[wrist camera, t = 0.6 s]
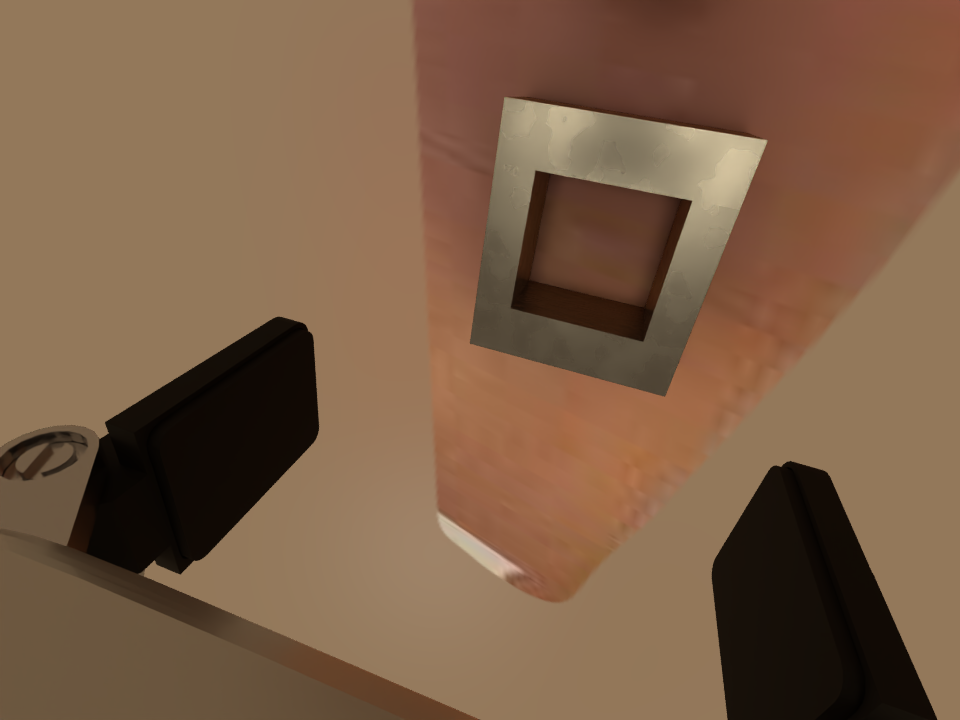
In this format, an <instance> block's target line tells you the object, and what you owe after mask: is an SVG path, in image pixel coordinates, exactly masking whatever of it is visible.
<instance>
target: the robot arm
mask: <svg viewBox="0 0 960 720" xmlns="http://www.w3.org/2000/svg"><path fill="white" fill-rule="evenodd" d="M105 424H106V427H107V429H108V432H109V434H107V435H106V436H104V437H102V438H101V439H99V437H98V436H97V435H96V433H95V432H94V431H92V430H90V429H88V428H86V427H81V426H75V425H67V426H66V425H65V426H53V427H48V428H43V429H39V430H36V431H33V432H30V433H27V434H24V435H22V436H20V437H18V438H16V439H14V440H12V441H10V442H8V443H6V444H4V445H3V446H2V447H0V720H479V719H477V718H475V717H473V716H470V715H468V714H466V713H463V712H460V711H459V710H456V709H454V708H452V707H449V706H447V705H445V704H442V703H440V702H438V701H435V700H433V699H431V698H428V697H426V696H424V695H421V694H419V693H416V692H414V691H412V690H410V689H407V688H405V687H403V686H400V685H398V684H396V683H393V682H391V681H389V680H386V679H384V678H382V677H379V676H377V675H375V674H373V673H370V672H368V671H365V670H363V669H361V668H359V667H356V666H354V665H352V664H349V663H347V662H344V661H342V660H340V659H337V658H335V657H333V656H330V655H328V654H326V653H323V652H321V651H318V650H316V649H314V648H312V647H309V646H307V645H305V644H302V643H300V642H298V641H295V640H293V639H291V638H288V637H286V636H284V635H281V634H279V633H276V632H274V631H272V630H269V629H267V628H265V627H262V626H260V625H258V624H255V623H253V622H250V621H248V620H246V619H243V618H241V617H239V616H236V615H234V614H232V613H229V612H227V611H224V610H222V609H220V608H217V607H215V606H212V605H210V604H208V603H205V602H203V601H201V600H199V599H196V598H194V597H191V596H189V595H187V594H184V593H182V592H179V591H177V590H175V589H172V588H170V587H168V586H165V585H163V584H161V583H158V582H156V581H154V580H151V579H148V578H146V577H144V571H145V568H147V567H148V566H149V565H150V564H151V563H152V562H153V561H154V560H155V561H156V564H157V565H159V566H161V567H164V568H166V569H168V570H171V571H173V572H175V573H178V574H181V573H182V572H183V571H184V570H185V569H186V568H187V567H188V566H189V565H190V564H191V563H192V562H193V561H194V560H195V561H198V560H200V559H202V558H204V557H205V556H206V555H207V554H208V553H209V552H210V551H211V550H212V549H213V548H214V547H215V546H216V545H217V544H218V543H219V542H220V540H221V539H223V537H224V536H225V535H226V534H227V533H228V532H229V531H230V530H231V529H232V528H233V527H234V526H235V525H236V524H237V523H238V522H239V521H240V519H242V517H243V516H244V515H245V514H246V513H247V512H248V511H249V510H250V509H251V508H252V507H253V506H254V505H255V504H256V503H257V502H258V501H259V500H260V499H261V497H262V496H263V495H264V494H265V493H266V492H267V491H268V490H269V489H270V488H271V487H272V486H273V485H274V483H276V482H277V480H279V478H280V477H281V476H282V475H283V474H284V473H285V472H286V471H287V470H288V469H289V468H290V467H291V466H292V465H293V464H294V463H295V462H296V461H297V460H298V459H299V458H300V456H301V455H302V454H303V453H304V452H305V451H306V450H307V449H308V448H309V447H310V446H311V445H312V444H313V442H314V441H315V439H316V438H317V435H318V431H319V419H318V404H317V388H316V372H315V357H314V341H313V335H312V334H311V333H310V332H308V329H307V327H306V325H305V324H303V323H301V322H297V321H294V320H290V319H287V318H283V317H276V318H273V319H272V320H270V321H268V322H267V323H265V324H264V325H262V326H260V327H259V328H257V329H255V330H254V331H252V332H251V333H249V334H247V335H246V336H244V337H243V338H241V339H239V340H238V341H236V342H235V343H233V344H231V345H230V346H228V347H226V348H225V349H223V350H221V351H220V352H218V353H217V354H215V355H213V356H212V357H210V358H209V359H207V360H205V361H204V362H202V363H200V364H199V365H197V366H195V367H194V368H192V369H191V370H189V371H187V372H186V373H184V374H183V375H181V376H180V377H178V378H176V379H174V380H173V381H171V382H170V383H168V384H166V385H165V386H163V387H161V388H160V389H158V390H157V391H155V392H153V393H152V394H150V395H149V396H147V397H145V398H144V399H142V400H141V401H139V402H137V403H136V404H134V405H132V406H131V407H129V408H128V409H126V410H124V411H123V412H121V413H120V414H118V415H116V416H114V417H113V418H111V419H110V420H108V421H106V422H105ZM712 584H713V593H714V602H715V611H716V620H717V629H718V637H719V647H720V656H721V665H722V674H723V682H724V691H725V700H726V709H727V718H728V720H937V718H936V716H935V713H934V711H933V708H932V706H931V704H930V702H929V699H928V697H927V695H926V693H925V690H924V688H923V686H922V683H921V681H920V679H919V677H918V674H917V672H916V670H915V668H914V665H913V663H912V661H911V659H910V656H909V654H908V652H907V650H906V647H905V645H904V643H903V640H902V638H901V636H900V634H899V631H898V629H897V627H896V624H895V622H894V620H893V618H892V616H891V613H890V611H889V609H888V606H887V604H886V602H885V600H884V597H883V595H882V593H881V591H880V588H879V586H878V584H877V581H876V579H875V577H874V575H873V573H872V571H871V569H870V567H869V564H868V562H867V560H866V558H865V555H864V553H863V551H862V549H861V546H860V544H859V542H858V539H857V537H856V535H855V533H854V531H853V528H852V526H851V524H850V521H849V519H848V517H847V515H846V512H845V510H844V508H843V506H842V503H841V501H840V499H839V496H838V494H837V492H836V489H835V487H834V485H833V483H832V480H831V478H830V476H829V475H828V473H827V472H825V471H823V470H820V469H816V468H813V467H809V466H806V465H802V464H799V463H795V462H792V461H790V462H786V463H785V464H783V466H782V467H779V466H773V467H771V468H770V470H769V471H768V473H767V474H766V476H765V478H764V479H763V481H762V483H761V484H760V486H759V488H758V489H757V491H756V492H755V494H754V496H753V497H752V499H751V501H750V502H749V504H748V506H747V507H746V509H745V510H744V512H743V514H742V515H741V517H740V519H739V521H738V522H737V524H736V525H735V527H734V529H733V530H732V532H731V533H730V535H729V537H728V538H727V540H726V542H725V543H724V545H723V546H722V548H721V550H720V552H719V553H718V555H717V556H716V558H715V560H714V563H713V568H712Z"/></svg>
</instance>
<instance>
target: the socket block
mask: <svg viewBox="0 0 960 720" xmlns="http://www.w3.org/2000/svg"><path fill="white" fill-rule="evenodd" d="M767 141H768V140H765V139H762V138H760V137H757V136H754V135H752V134H749V133H744V132H738V131H731V130H725V129H719V128H713V127H707V126H701V125H695V124H689V123H683V122H677V121H670V120H664V119H658V118H652V117H646V116H640V115H634V114H628V113H622V112H615V111H609V110H603V109H597V108H591V107H585V106H579V105H573V104H567V103H560V102H554V101H548V100H542V99H536V98H530V97H504V104H503V112H502V119H501V126H500V133H499V140H498V147H497V154H496V161H495V168H494V175H493V183H492V190H491V197H490V204H489V211H488V218H487V225H486V232H485V239H484V246H483V254H482V261H481V268H480V275H479V282H478V289H477V296H476V303H475V310H474V318H473V325H472V332H471V339H470V344H474V345H477V346H481V347H485V348H488V349H492V350H496V351H499V352H503V353H507V354H510V355H514V356H518V357H521V358H525V359H529V360H532V361H536V362H540V363H543V364H547V365H551V366H554V367H558V368H562V369H565V370H569V371H573V372H577V373H580V374H584V375H588V376H591V377H595V378H599V379H602V380H606V381H610V382H613V383H617V384H621V385H624V386H628V387H632V388H635V389H639V390H643V391H646V392H650V393H654V394H657V395H661V396H665V395H666V393H667V390H668V388H669V385H670V383H671V380H672V378H673V375H674V373H675V370H676V368H677V365H678V363H679V360H680V358H681V355H682V353H683V350H684V348H685V345H686V343H687V340H688V338H689V335H690V333H691V330H692V328H693V326H694V323H695V321H696V318H697V316H698V313H699V311H700V308H701V306H702V303H703V301H704V298H705V296H706V293H707V291H708V288H709V286H710V283H711V281H712V278H713V276H714V273H715V271H716V268H717V266H718V263H719V261H720V258H721V256H722V253H723V251H724V248H725V246H726V243H727V241H728V238H729V236H730V233H731V231H732V228H733V226H734V223H735V221H736V218H737V216H738V213H739V211H740V208H741V206H742V203H743V201H744V198H745V196H746V193H747V191H748V188H749V186H750V183H751V181H752V178H753V176H754V173H755V171H756V168H757V166H758V163H759V161H760V158H761V156H762V153H763V151H764V148H765V146H766V143H767ZM550 173H552V174H557V175H562V176H567V177H572V178H578V179H583V180H588V181H593V182H598V183H603V184H609V185H614V186H619V187H624V188H629V189H635V190H640V191H645V192H650V193H655V194H660V195H666V196H671V197H676V198H681V201H680V204H679V207H678V210H677V213H676V216H675V219H674V222H673V225H672V228H671V231H670V234H669V237H668V240H667V243H666V246H665V249H664V252H663V255H662V258H661V261H660V264H659V267H658V270H657V273H656V276H655V279H654V282H653V285H652V288H651V291H650V294H649V296H648V299H647V302H646V305H645V308H641V307H637V306H633V305H629V304H624V303H620V302H616V301H612V300H608V299H604V298H599V297H595V296H591V295H587V294H583V293H578V292H574V291H570V290H566V289H562V288H558V287H553V286H549V285H545V284H541V283H537V282H532V281H529V279H530V274H531V269H532V263H533V258H534V253H535V248H536V243H537V238H538V233H539V228H540V223H541V218H542V213H543V208H544V203H545V198H546V192H547V187H548V182H549V177H550Z"/></svg>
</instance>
